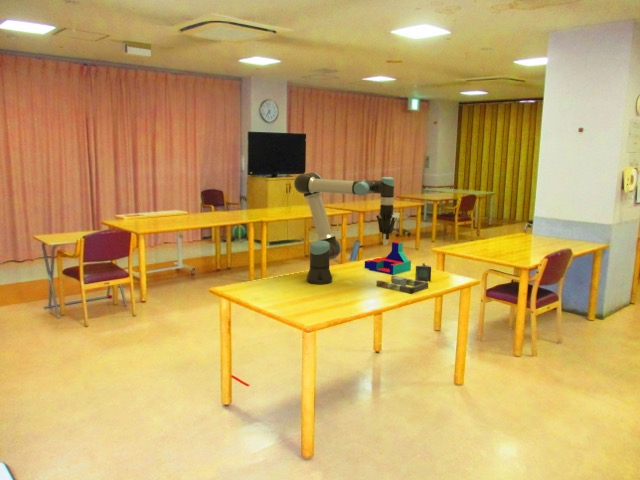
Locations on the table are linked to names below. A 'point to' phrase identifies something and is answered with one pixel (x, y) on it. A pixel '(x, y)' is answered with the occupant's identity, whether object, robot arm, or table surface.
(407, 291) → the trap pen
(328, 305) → the table surface
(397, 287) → the channel rails
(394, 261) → the building blocks toy
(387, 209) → the robot arm
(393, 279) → the block
